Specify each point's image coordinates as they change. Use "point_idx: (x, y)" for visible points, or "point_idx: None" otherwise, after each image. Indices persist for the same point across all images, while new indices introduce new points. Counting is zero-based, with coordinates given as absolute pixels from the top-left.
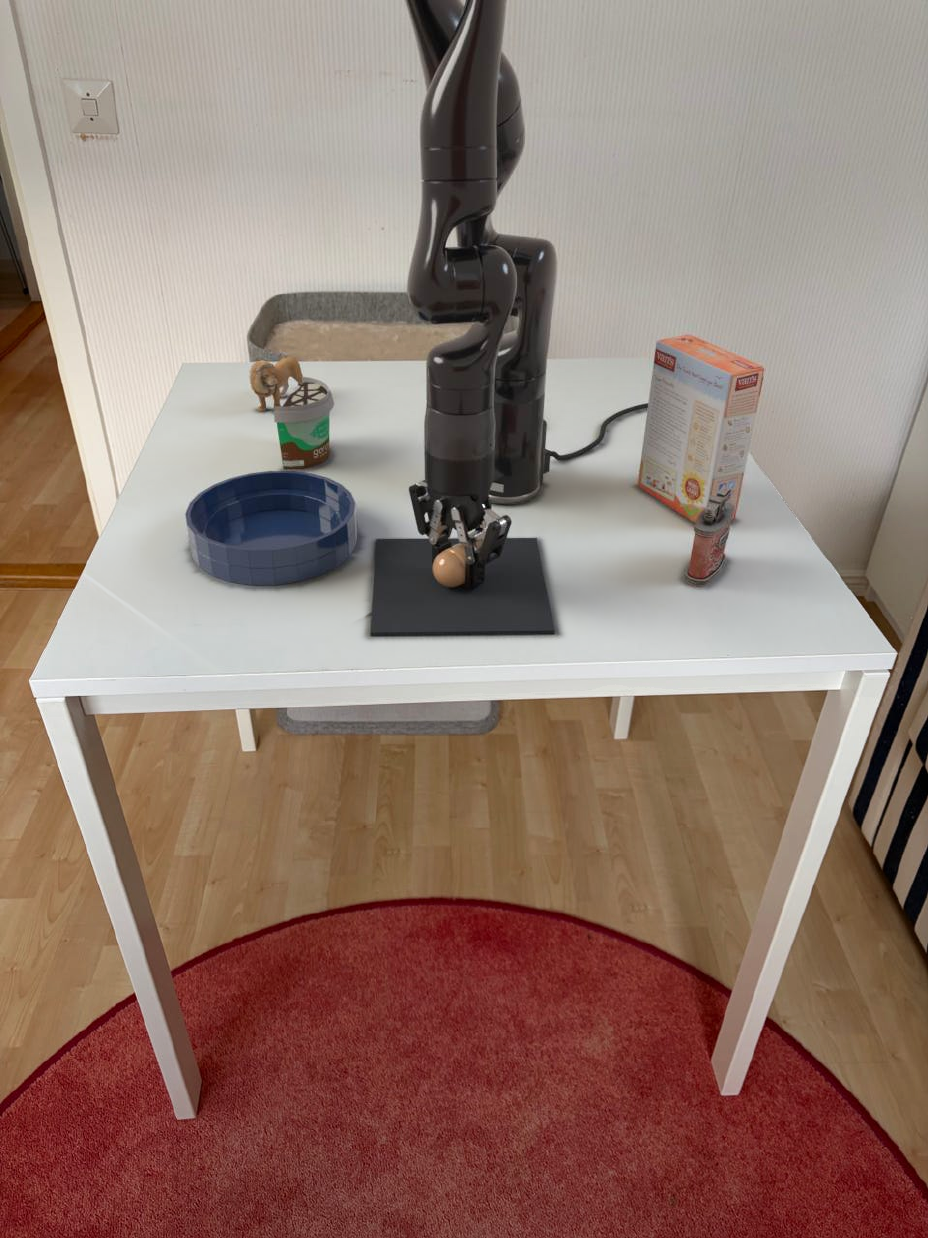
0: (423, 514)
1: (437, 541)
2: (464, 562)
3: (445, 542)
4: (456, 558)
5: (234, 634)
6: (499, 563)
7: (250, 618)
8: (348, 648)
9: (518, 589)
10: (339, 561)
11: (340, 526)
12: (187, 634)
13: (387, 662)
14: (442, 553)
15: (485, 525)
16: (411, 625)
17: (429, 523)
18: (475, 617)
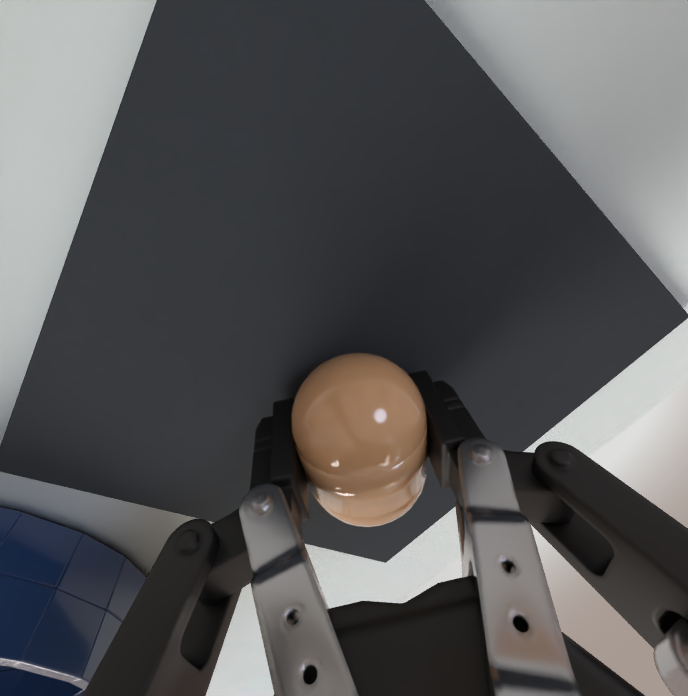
0: (207, 674)
1: (303, 542)
2: (424, 475)
3: (292, 495)
4: (410, 505)
5: (260, 649)
6: (346, 227)
7: (231, 638)
8: (387, 576)
9: (508, 277)
10: (113, 560)
11: (43, 671)
12: (229, 674)
13: (454, 551)
14: (353, 523)
15: (541, 571)
16: (419, 518)
17: (216, 591)
18: (497, 429)
